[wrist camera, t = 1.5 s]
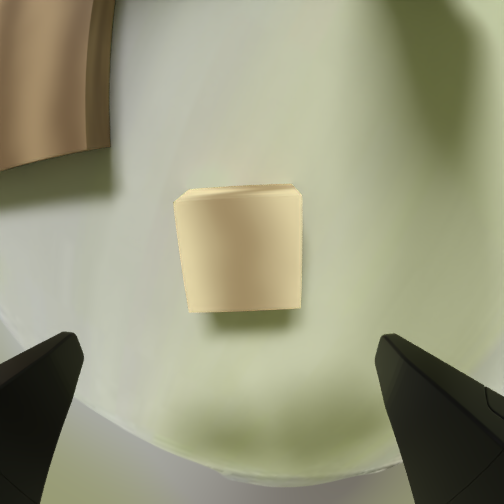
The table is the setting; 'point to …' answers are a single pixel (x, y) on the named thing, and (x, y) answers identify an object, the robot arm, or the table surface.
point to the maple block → (241, 247)
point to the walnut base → (53, 78)
